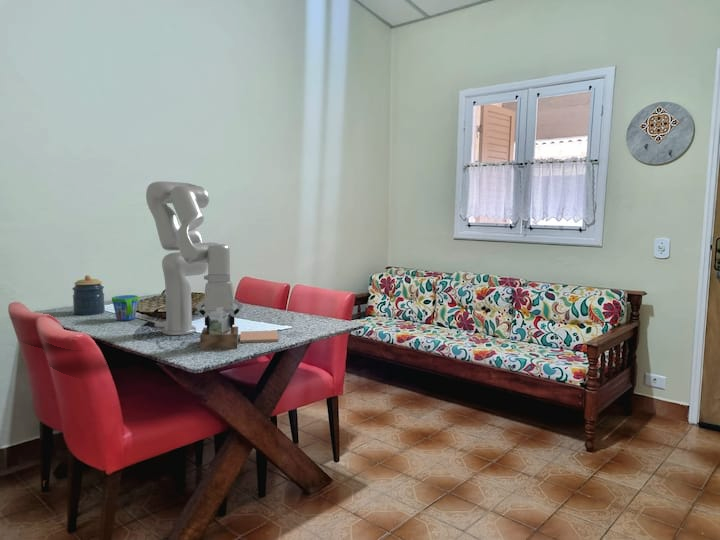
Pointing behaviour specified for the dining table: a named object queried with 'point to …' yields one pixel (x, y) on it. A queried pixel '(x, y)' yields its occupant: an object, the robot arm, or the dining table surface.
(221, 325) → the syrup box
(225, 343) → the collar
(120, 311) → the snack cup
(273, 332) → the tile
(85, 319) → the dining table surface
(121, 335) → the dining table surface
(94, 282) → the canister
